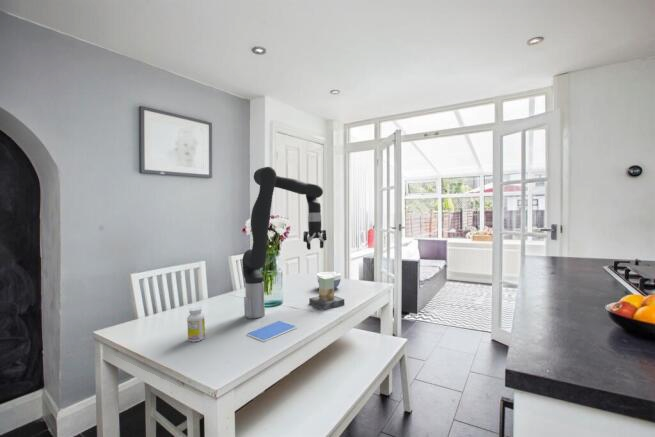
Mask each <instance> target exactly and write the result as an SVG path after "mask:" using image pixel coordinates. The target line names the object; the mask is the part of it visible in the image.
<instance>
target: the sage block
mask: <svg viewBox="0 0 655 437" xmlns="http://www.w3.org/2000/svg"><path fill="white" fill-rule="evenodd" d="M319 288H321V289H324V290H328V289H333V288H334V277H330V276H323V277H319V283H318V289H319Z"/></svg>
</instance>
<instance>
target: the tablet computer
mask: <svg viewBox="0 0 655 437" xmlns="http://www.w3.org/2000/svg"><path fill="white" fill-rule="evenodd" d="M295 329H298V327H297V326H296V325H294V324H290V323H288V322H287V323H286V322H284V321H281V320H277V321H275V322H273V323H270V324H268V325H265V326H263V327H260V328H257V329H255V330H252V331H249V332H247V333H246V336H247V337H249V338H251V339H252V338H253V339H254V340H258V341H260V342H263V343H266V342H268V341H270V340H272V339H275V338H276V337H279V336H281V335H284V334H286V333H288V332H291V331H293V330H295Z"/></svg>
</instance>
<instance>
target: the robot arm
mask: <svg viewBox="0 0 655 437" xmlns="http://www.w3.org/2000/svg"><path fill="white" fill-rule="evenodd" d="M253 180H254V183H256V184H257V185H259V192H258V195H257V198H256V200H255V202H254V204H253V207H252V209H251V210H252V211H251V216H250V229H251V234H252V247H251V249H247V250H246V251H245V252H244V253H243V255H242V260H241V261H242V275H243V278H244V288H245V290H244V291H245V292H244V293H245V296H244V297H243V303H244V304H243V306H244V317H245V318H247V319H249V320H251V319H259V318H262V317H264V316H265V314H266V312H265V311H266V310H265V308H266V307H265V284H264V283H265V277H264V275H263V273H262V271H261V269H262V268H263V267H264V266H265V264H266V261H267V247H268V246H267V245H268V244H267V242H268V234H269V227H270V226H269V225H270V220H271V209H272V202H273V195H274V192H275V188H277V189H281V190H285V191H288V192H291V193H295V194H298V195H305V198H306V203H307V206H308V207H307V208H308V209H307V210H308V212H307V214H308V215H307V225H308V227H307V228H308V231H303V235H302V236H303V239H302V240H303V241H302V242H304V243H306V249H307V250H308V251H309V250H311V248H312V247H311V242H312V240H314V239H318V241H319V248H320V249H323V248H324V245H325V244H324V242H325V241H327V230H326V229H322V213H321V211H322V209H321V206H322V205H321V203H320V202H318V200H317V198H321V197H322V195H323V193H324V190H323V188H322V187H321V186H320V185H319V184H315V183H309V182H308V183H307V182H306V181H305V182H304V181H301V180H299V179H295V178H292V177H291V178H290V177H284V176H280V175H279V176H278V175H277V172H276V170H275V169H274V168H273V167H271V166H265V167H260V168H258V169H257V170H255V171H254V173H253Z"/></svg>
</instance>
